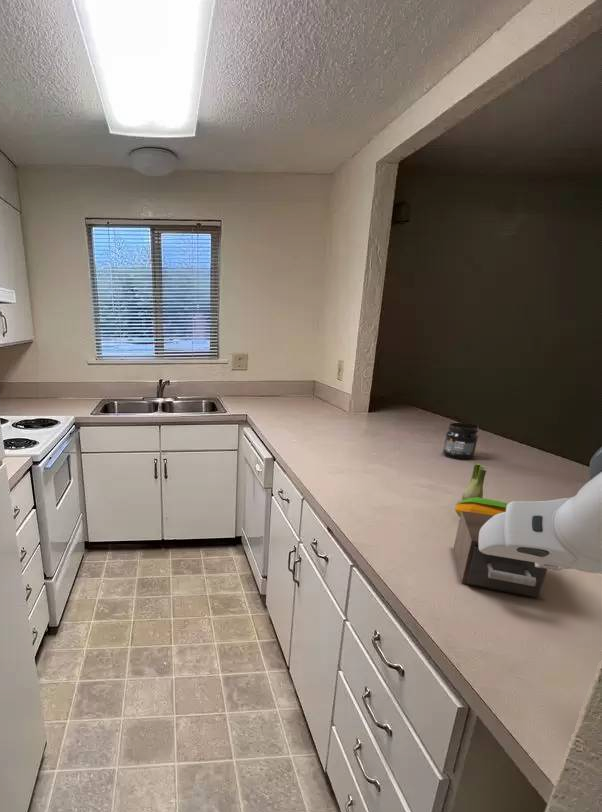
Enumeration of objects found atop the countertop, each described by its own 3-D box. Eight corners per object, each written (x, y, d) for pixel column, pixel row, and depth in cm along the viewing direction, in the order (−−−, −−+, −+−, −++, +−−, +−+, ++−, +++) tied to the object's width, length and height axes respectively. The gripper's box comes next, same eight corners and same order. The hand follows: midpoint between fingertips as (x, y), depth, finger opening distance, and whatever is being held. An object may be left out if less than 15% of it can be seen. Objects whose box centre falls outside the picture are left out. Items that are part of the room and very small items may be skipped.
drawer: (544, 610, 78) (556, 572, 75) (469, 595, 82) (478, 559, 80) (519, 561, 93) (529, 528, 91) (458, 551, 98) (465, 519, 95)
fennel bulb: (479, 510, 120) (489, 469, 116) (459, 505, 123) (468, 466, 119) (481, 503, 125) (491, 463, 121) (462, 499, 128) (470, 460, 123)
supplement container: (462, 451, 172) (468, 422, 168) (479, 459, 162) (487, 428, 158) (436, 452, 171) (442, 422, 167) (452, 460, 162) (459, 429, 157)
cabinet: (538, 598, 83) (552, 553, 79) (461, 583, 88) (471, 540, 84) (519, 560, 96) (530, 520, 92) (453, 549, 100) (461, 510, 97)
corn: (462, 487, 116) (557, 508, 103) (457, 512, 119) (548, 535, 106) (454, 497, 111) (553, 520, 98) (449, 523, 114) (544, 548, 101)
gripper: (701, 525, 51) (633, 557, 62) (495, 499, 58) (470, 532, 70) (710, 577, 48) (638, 601, 60) (494, 543, 56) (468, 570, 68)
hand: (546, 564), depth 65 cm, fingers closed
